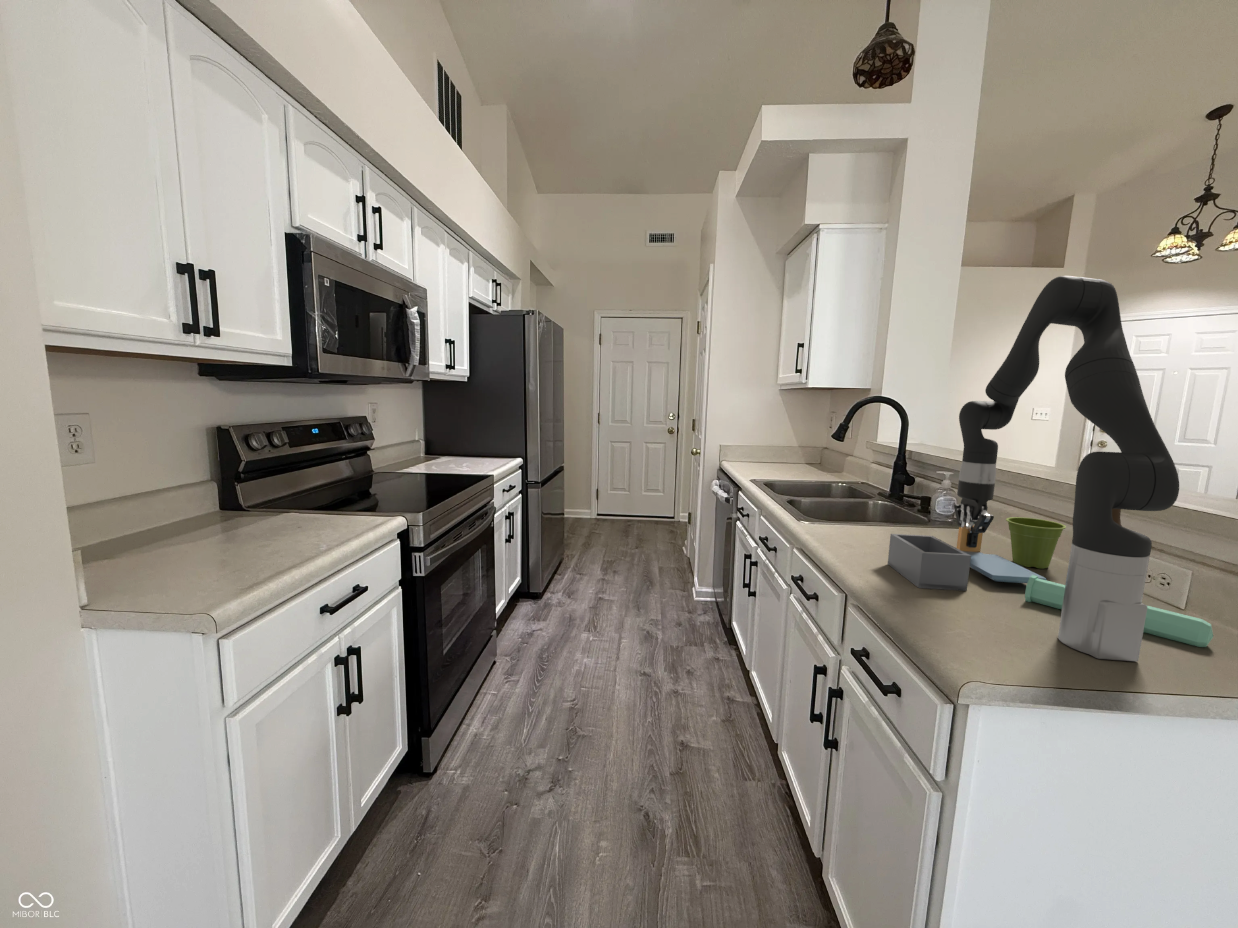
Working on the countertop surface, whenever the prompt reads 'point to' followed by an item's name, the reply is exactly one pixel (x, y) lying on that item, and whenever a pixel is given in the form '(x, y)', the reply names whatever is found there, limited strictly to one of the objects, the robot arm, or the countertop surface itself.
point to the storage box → (929, 562)
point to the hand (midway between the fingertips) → (968, 545)
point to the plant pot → (1033, 540)
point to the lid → (993, 562)
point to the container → (1155, 622)
